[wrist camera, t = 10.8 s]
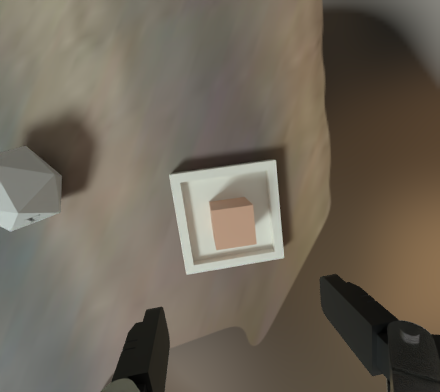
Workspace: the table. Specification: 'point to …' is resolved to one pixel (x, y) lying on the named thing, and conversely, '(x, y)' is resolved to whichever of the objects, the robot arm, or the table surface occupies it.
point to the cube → (233, 223)
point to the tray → (220, 190)
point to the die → (27, 189)
